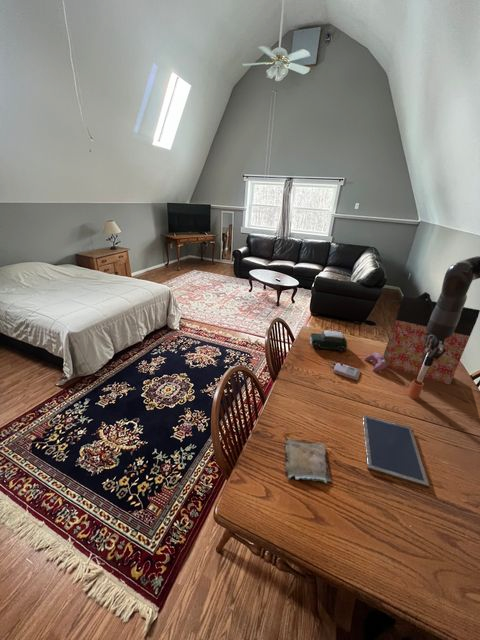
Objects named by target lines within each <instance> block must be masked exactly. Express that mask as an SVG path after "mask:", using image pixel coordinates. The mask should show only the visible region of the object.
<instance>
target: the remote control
mask: <svg viewBox="0 0 480 640" xmlns="http://www.w3.org/2000/svg"><path fill="white" fill-rule="evenodd" d="M327 363H328V364H331V365H333V366H330V367H329V368H330V369H332V370H333V373H334V374H337V375H339V376H343V377H346V378H349V379H351V380H354V381H358V380H359V378H360V375H361V372H362V371H361V370H359V368H356V367H353V366H350V365H346V364H344V362H343V361H341V362H336V363H335V362H329V361H327Z"/></svg>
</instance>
